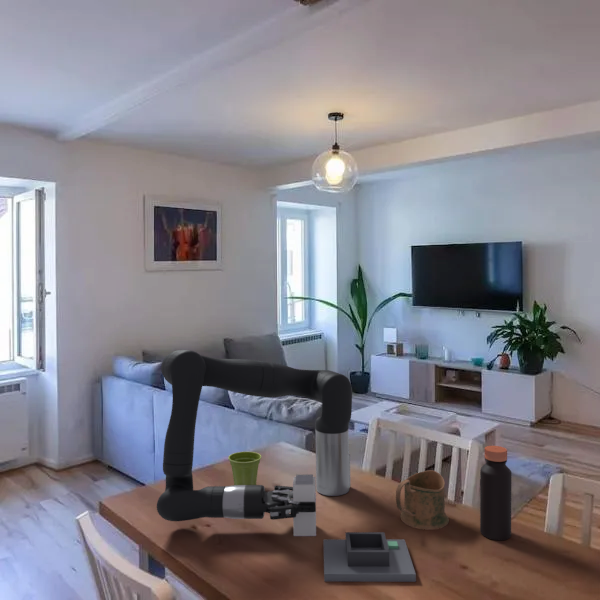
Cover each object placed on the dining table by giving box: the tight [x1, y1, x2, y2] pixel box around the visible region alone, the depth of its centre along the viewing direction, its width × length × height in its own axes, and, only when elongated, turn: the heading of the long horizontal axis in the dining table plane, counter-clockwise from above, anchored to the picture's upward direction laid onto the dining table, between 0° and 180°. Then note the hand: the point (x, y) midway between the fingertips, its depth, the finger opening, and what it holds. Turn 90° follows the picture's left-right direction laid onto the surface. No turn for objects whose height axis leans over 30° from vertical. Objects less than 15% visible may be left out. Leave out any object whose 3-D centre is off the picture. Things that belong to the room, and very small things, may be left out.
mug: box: [395, 469, 450, 531], centre depth 133 cm, size 12×18×12 cm, turn 137°
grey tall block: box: [292, 474, 317, 537], centre depth 130 cm, size 5×5×13 cm
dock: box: [323, 531, 417, 583], centre depth 115 cm, size 18×14×4 cm
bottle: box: [479, 445, 512, 541], centre depth 127 cm, size 7×7×20 cm
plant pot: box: [227, 451, 262, 485], centre depth 157 cm, size 9×9×9 cm
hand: (315, 501), depth 130 cm, fingers closed on grey tall block, 5 cm apart
